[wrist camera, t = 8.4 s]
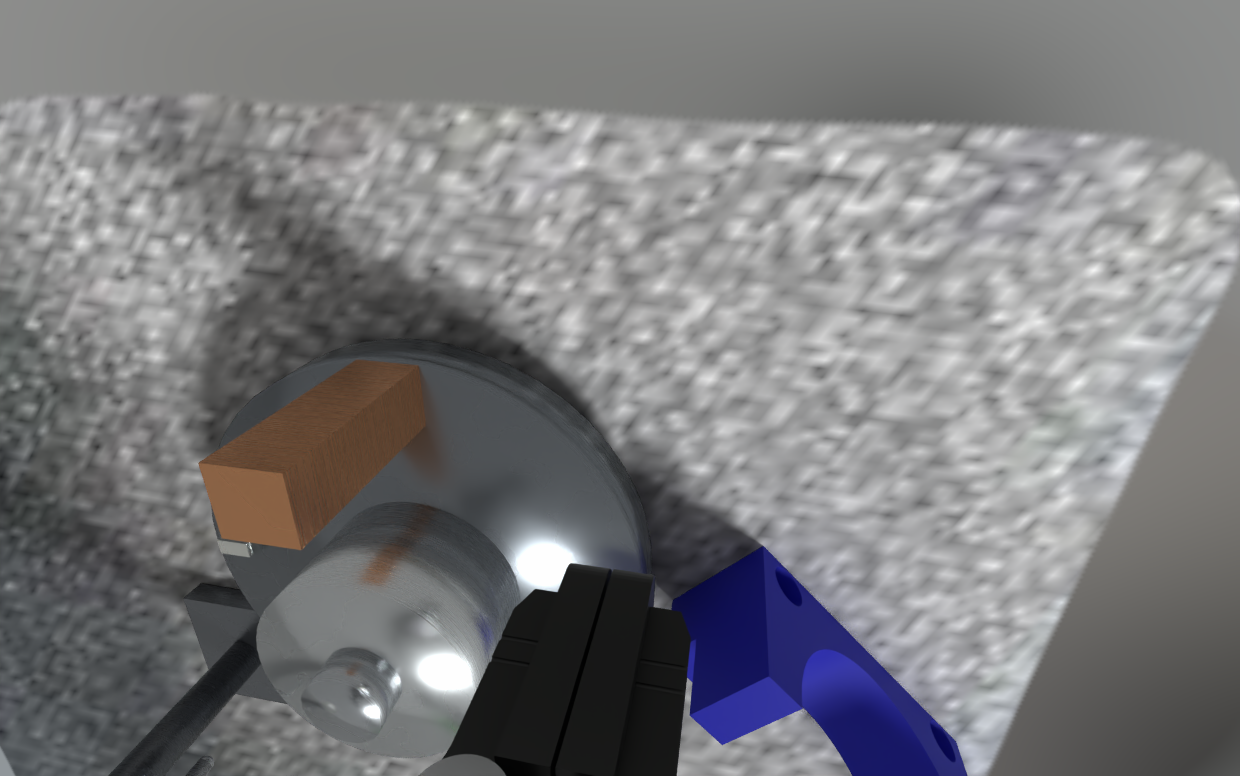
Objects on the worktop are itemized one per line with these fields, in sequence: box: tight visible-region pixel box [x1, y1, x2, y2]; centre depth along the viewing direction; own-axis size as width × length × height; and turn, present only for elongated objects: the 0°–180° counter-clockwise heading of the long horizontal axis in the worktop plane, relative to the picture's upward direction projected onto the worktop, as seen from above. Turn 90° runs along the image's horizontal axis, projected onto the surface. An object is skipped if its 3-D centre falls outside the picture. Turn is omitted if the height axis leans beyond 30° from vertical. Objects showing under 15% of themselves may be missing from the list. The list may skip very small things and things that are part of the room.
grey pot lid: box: [198, 339, 652, 618], centre depth 20 cm, size 16×16×8 cm
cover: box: [256, 502, 521, 758], centre depth 20 cm, size 7×7×5 cm
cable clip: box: [672, 546, 967, 776], centre depth 22 cm, size 12×4×6 cm, turn 44°
